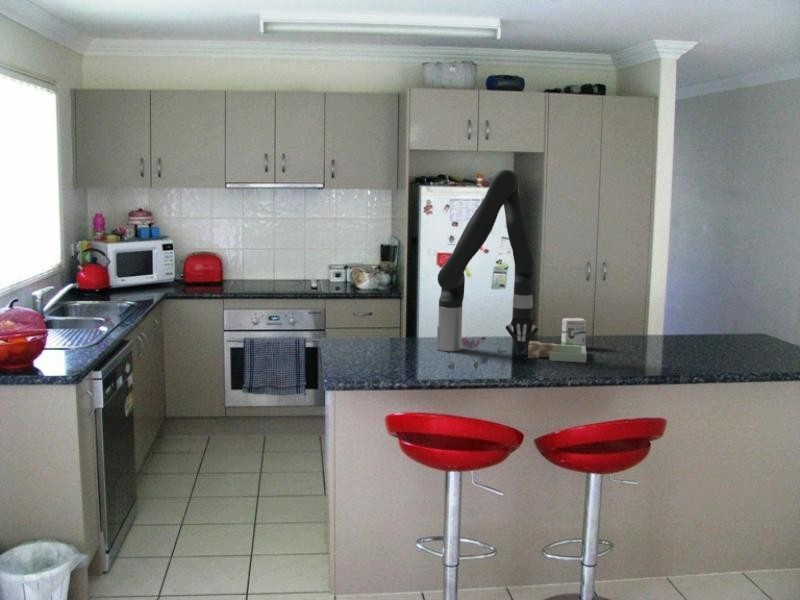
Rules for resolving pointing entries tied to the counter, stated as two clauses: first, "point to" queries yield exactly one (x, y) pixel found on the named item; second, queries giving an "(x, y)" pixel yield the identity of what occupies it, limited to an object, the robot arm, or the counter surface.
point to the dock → (569, 353)
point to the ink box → (573, 331)
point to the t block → (540, 349)
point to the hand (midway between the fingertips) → (521, 350)
